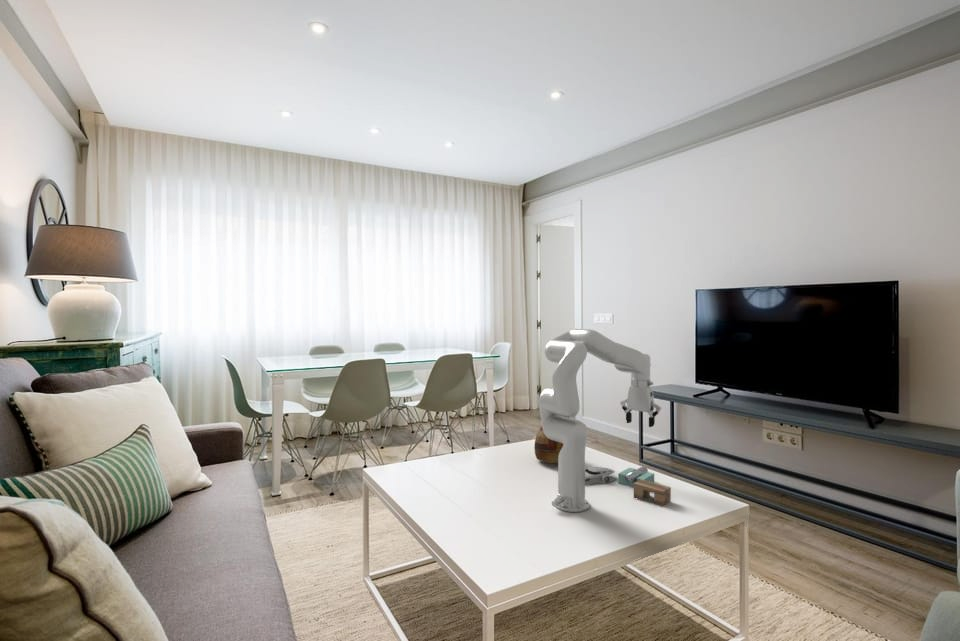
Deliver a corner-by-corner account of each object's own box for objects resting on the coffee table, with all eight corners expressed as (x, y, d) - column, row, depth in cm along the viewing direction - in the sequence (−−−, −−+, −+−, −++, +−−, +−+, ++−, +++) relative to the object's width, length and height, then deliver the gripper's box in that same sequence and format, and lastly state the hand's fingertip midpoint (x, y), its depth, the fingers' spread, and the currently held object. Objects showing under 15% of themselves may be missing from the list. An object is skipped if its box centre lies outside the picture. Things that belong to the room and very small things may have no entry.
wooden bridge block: (663, 506, 170) (663, 491, 170) (633, 497, 178) (633, 483, 178) (670, 501, 175) (670, 487, 175) (640, 493, 183) (640, 479, 183)
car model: (556, 480, 198) (556, 468, 198) (604, 473, 207) (604, 461, 206) (570, 490, 188) (570, 477, 187) (621, 481, 196) (621, 469, 196)
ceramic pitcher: (553, 452, 235) (553, 392, 235) (586, 462, 220) (586, 398, 219) (525, 460, 223) (525, 397, 222) (558, 471, 207) (558, 404, 207)
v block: (643, 489, 186) (643, 479, 186) (618, 483, 194) (618, 473, 194) (654, 483, 193) (654, 473, 193) (629, 476, 201) (629, 467, 201)
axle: (632, 483, 187) (631, 475, 188) (625, 482, 190) (624, 474, 190) (648, 474, 197) (647, 466, 198) (641, 473, 200) (640, 465, 200)
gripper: (664, 384, 192) (664, 426, 193) (625, 380, 204) (624, 419, 205) (656, 386, 187) (656, 429, 187) (616, 382, 199) (616, 422, 199)
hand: (639, 424), depth 196 cm, fingers open, 9 cm apart
